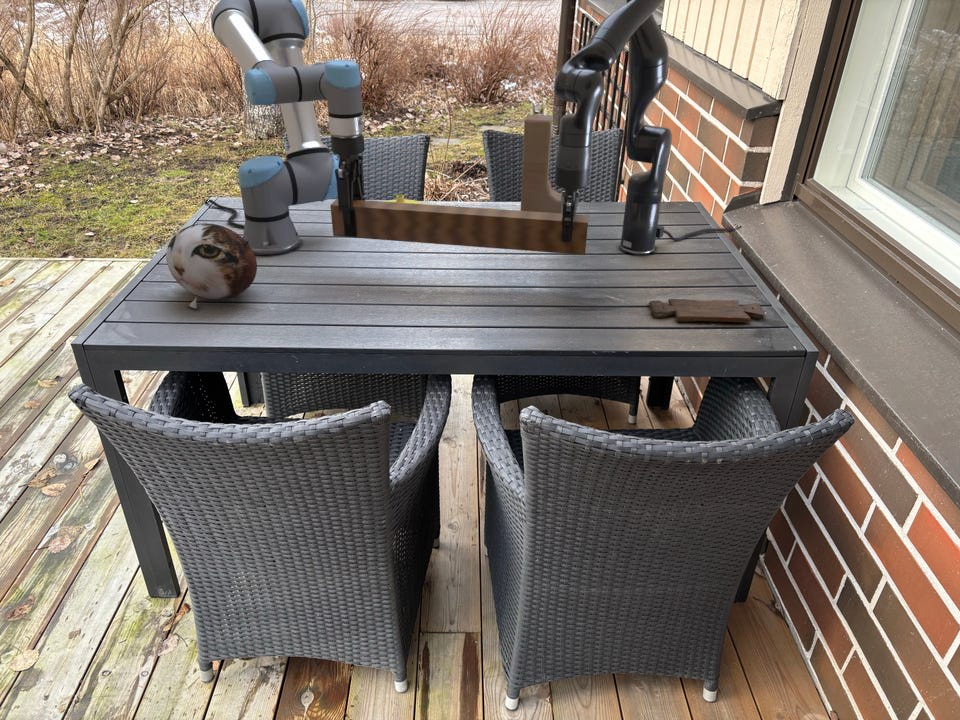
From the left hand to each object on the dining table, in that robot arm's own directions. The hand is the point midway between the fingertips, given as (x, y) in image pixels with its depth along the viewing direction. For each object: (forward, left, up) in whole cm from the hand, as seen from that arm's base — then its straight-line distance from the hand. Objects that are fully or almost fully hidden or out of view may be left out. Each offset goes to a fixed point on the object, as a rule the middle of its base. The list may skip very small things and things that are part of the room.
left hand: (354, 231), depth 174 cm
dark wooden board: (+80, +30, -12) cm, 86 cm away
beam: (+24, +10, -1) cm, 26 cm away
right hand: (+47, +21, +3) cm, 52 cm away
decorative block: (+19, +64, -12) cm, 68 cm away
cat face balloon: (-19, -28, -12) cm, 36 cm away
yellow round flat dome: (-17, +39, -12) cm, 44 cm away
